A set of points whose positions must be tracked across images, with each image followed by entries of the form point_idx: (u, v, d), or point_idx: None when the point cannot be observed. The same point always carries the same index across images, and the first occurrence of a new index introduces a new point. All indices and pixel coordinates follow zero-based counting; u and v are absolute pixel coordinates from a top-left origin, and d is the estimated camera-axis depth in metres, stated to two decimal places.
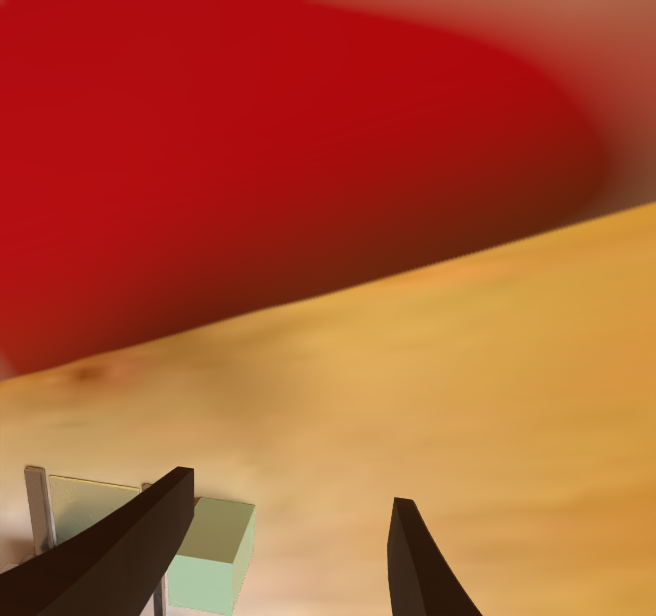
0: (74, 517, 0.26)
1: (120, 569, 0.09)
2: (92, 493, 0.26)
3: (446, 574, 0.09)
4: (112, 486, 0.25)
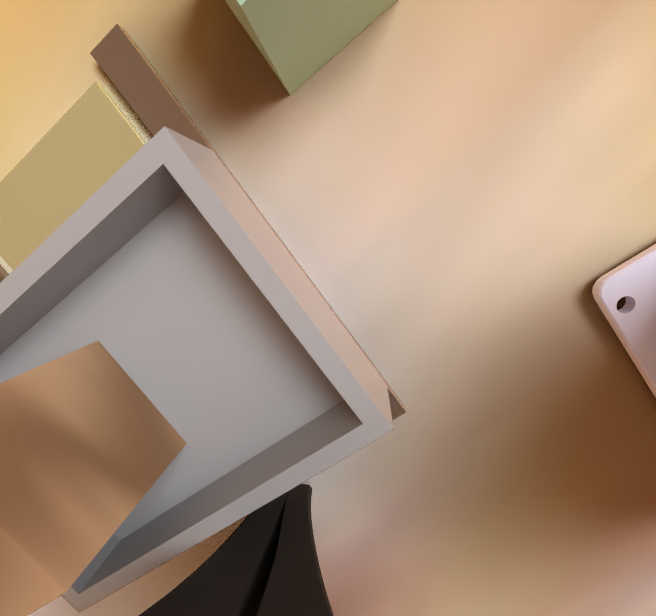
0: None
1: (254, 591, 0.09)
2: (43, 176, 0.12)
3: (306, 552, 0.09)
4: (57, 124, 0.11)
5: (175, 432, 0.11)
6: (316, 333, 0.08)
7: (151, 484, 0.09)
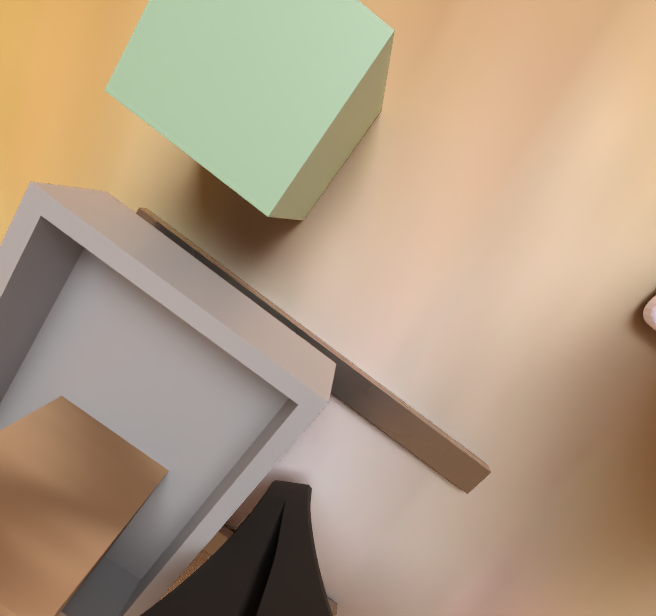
0: None
1: (255, 592, 0.09)
2: None
3: (306, 552, 0.09)
4: None
5: (154, 463, 0.11)
6: (225, 330, 0.08)
7: (132, 516, 0.09)
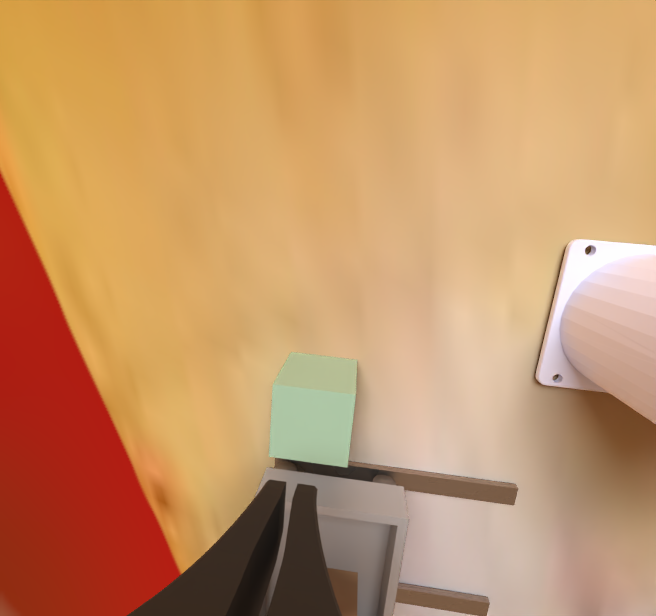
0: None
1: (247, 590, 0.09)
2: None
3: (314, 553, 0.09)
4: None
5: (349, 572, 0.21)
6: (353, 512, 0.18)
7: None
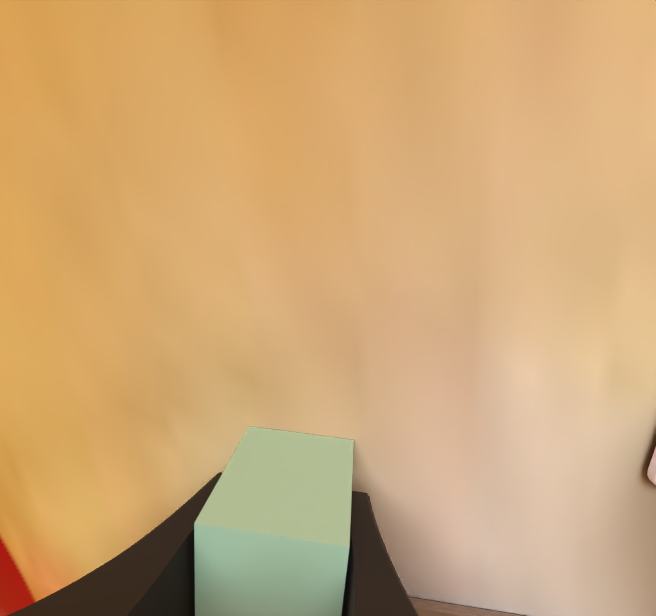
0: None
1: (177, 579, 0.09)
2: None
3: (384, 564, 0.09)
4: None
5: None
6: None
7: None
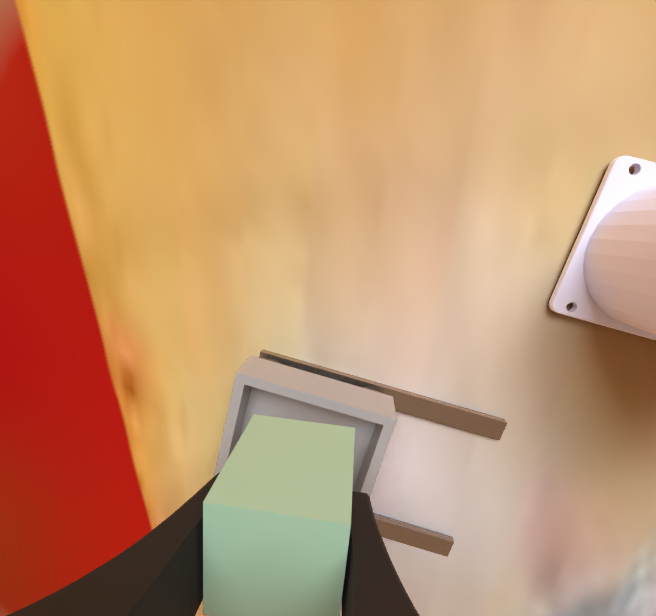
0: None
1: (177, 579, 0.09)
2: None
3: (384, 564, 0.09)
4: None
5: None
6: (338, 404, 0.17)
7: None
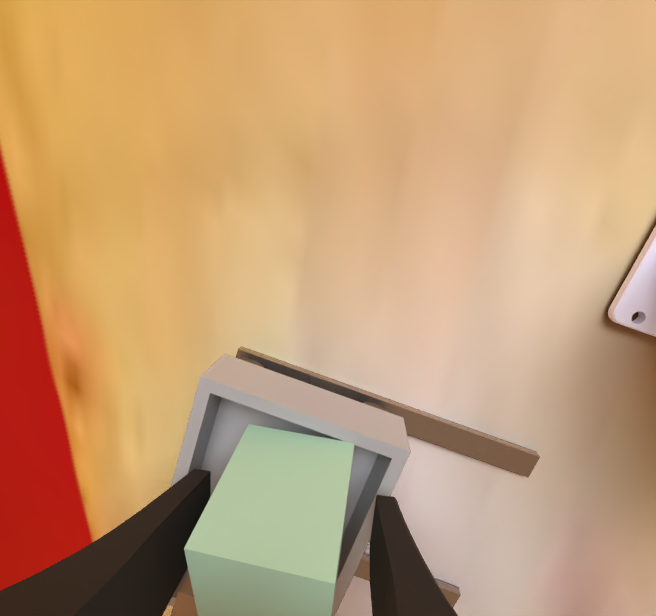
0: None
1: (143, 573, 0.09)
2: None
3: (421, 570, 0.09)
4: None
5: None
6: (334, 426, 0.13)
7: None
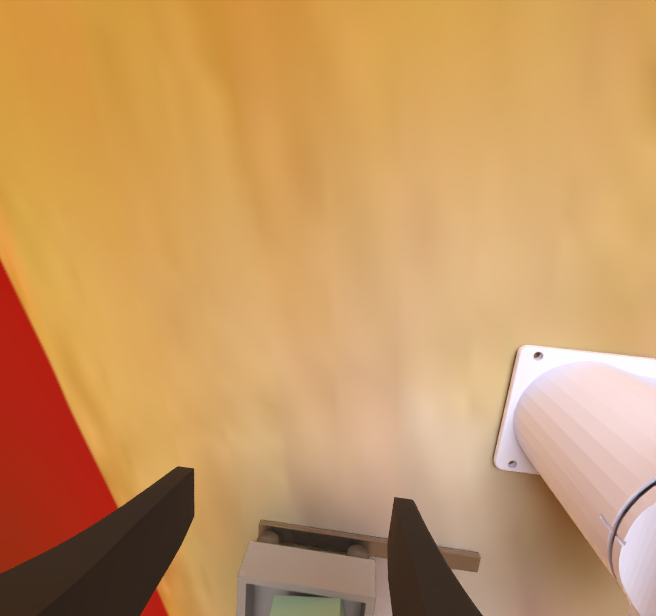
0: None
1: (120, 569, 0.09)
2: None
3: (446, 574, 0.09)
4: None
5: None
6: (325, 590, 0.20)
7: None
